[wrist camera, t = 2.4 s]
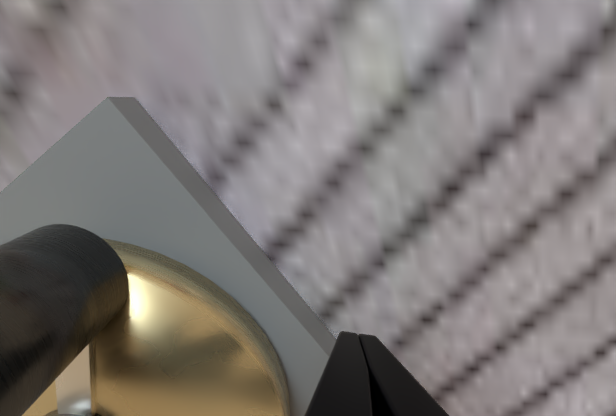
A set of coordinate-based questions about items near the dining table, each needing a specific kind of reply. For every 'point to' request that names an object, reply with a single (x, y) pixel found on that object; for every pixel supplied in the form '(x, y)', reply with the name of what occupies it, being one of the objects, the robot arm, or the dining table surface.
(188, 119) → the dining table surface
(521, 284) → the dining table surface
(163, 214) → the base plate
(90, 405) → the handwheel
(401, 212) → the dining table surface
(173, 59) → the dining table surface
